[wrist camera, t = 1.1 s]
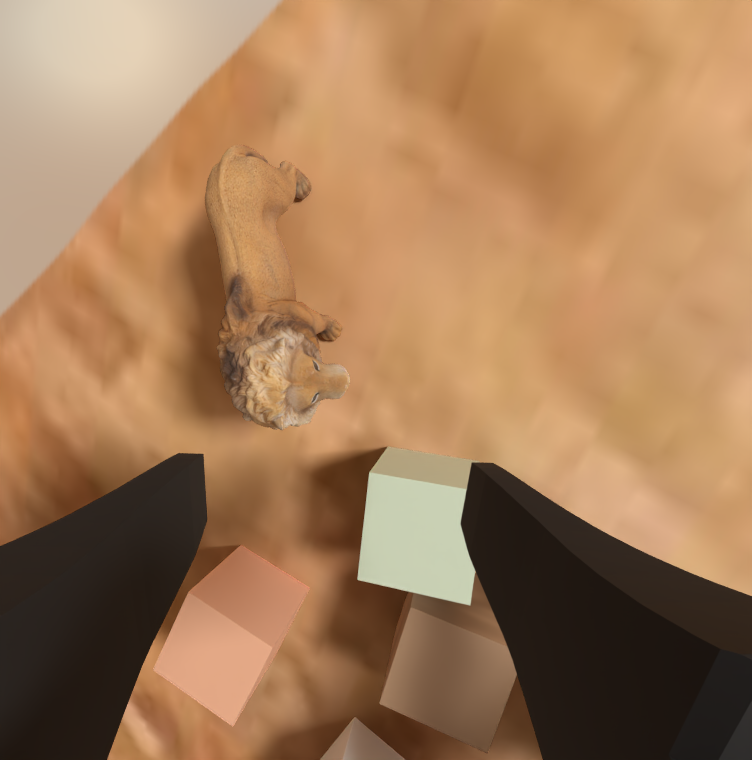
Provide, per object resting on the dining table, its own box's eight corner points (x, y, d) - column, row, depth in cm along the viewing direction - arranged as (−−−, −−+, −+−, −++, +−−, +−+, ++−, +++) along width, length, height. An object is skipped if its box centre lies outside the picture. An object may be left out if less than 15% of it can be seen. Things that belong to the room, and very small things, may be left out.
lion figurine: (387, 390, 22) (342, 415, 13) (303, 420, 23) (209, 461, 14) (298, 141, 22) (193, 3, 13) (218, 183, 23) (73, 80, 14)
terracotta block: (310, 587, 24) (273, 647, 19) (277, 652, 25) (232, 726, 20) (241, 544, 25) (188, 591, 20) (211, 608, 25) (152, 669, 21)
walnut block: (509, 585, 22) (524, 653, 17) (480, 664, 22) (487, 753, 17) (420, 551, 22) (410, 607, 18) (395, 628, 23) (379, 703, 18)
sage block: (479, 460, 21) (485, 492, 17) (467, 548, 22) (470, 605, 17) (388, 446, 22) (369, 472, 18) (378, 531, 23) (357, 579, 18)
